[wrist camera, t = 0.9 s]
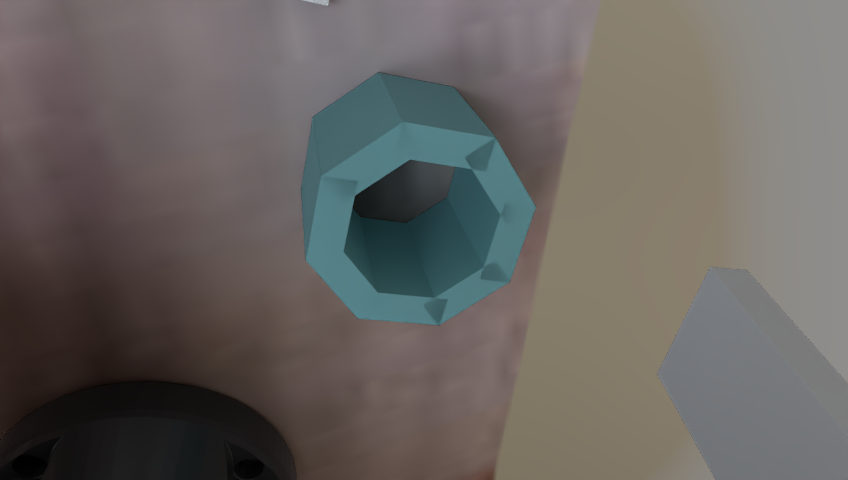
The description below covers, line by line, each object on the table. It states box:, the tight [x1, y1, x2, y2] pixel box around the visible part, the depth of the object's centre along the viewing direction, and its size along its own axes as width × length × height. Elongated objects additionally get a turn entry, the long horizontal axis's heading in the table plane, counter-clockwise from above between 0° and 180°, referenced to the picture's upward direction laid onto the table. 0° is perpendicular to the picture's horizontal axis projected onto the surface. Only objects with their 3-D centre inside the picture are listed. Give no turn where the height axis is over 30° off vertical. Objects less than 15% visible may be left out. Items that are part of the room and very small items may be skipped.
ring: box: [301, 72, 536, 325], centre depth 24 cm, size 8×8×6 cm
